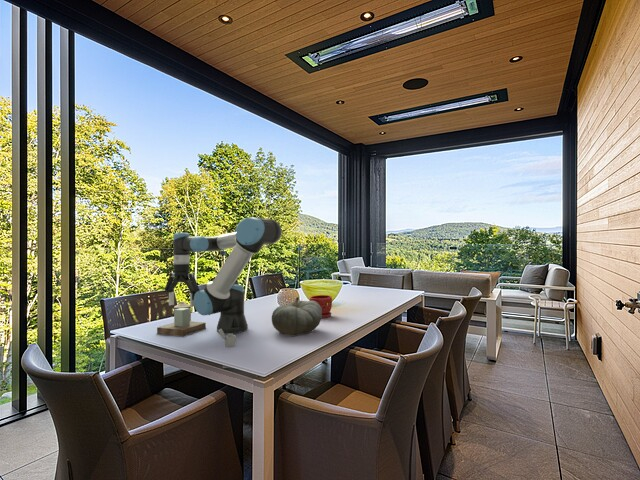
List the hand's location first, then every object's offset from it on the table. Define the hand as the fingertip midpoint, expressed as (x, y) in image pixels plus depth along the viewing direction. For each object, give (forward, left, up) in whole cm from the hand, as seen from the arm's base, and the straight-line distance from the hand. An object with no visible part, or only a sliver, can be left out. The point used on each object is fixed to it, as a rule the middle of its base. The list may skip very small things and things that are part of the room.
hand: (181, 305), depth 173 cm
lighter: (-38, +15, -13) cm, 43 cm away
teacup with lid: (+15, -16, -13) cm, 25 cm away
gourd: (-56, -16, -13) cm, 60 cm away
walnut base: (0, 0, -13) cm, 13 cm away
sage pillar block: (0, 0, -10) cm, 10 cm away
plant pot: (-54, -54, -13) cm, 77 cm away
